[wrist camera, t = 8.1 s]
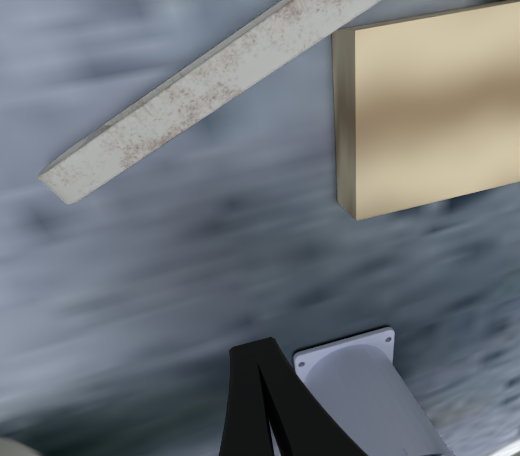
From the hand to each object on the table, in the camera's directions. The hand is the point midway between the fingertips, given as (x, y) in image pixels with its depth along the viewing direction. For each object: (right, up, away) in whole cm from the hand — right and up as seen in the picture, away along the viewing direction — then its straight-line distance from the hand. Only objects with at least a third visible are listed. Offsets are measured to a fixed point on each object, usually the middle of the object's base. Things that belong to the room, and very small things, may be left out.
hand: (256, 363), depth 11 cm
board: (+9, +11, +8) cm, 16 cm away
